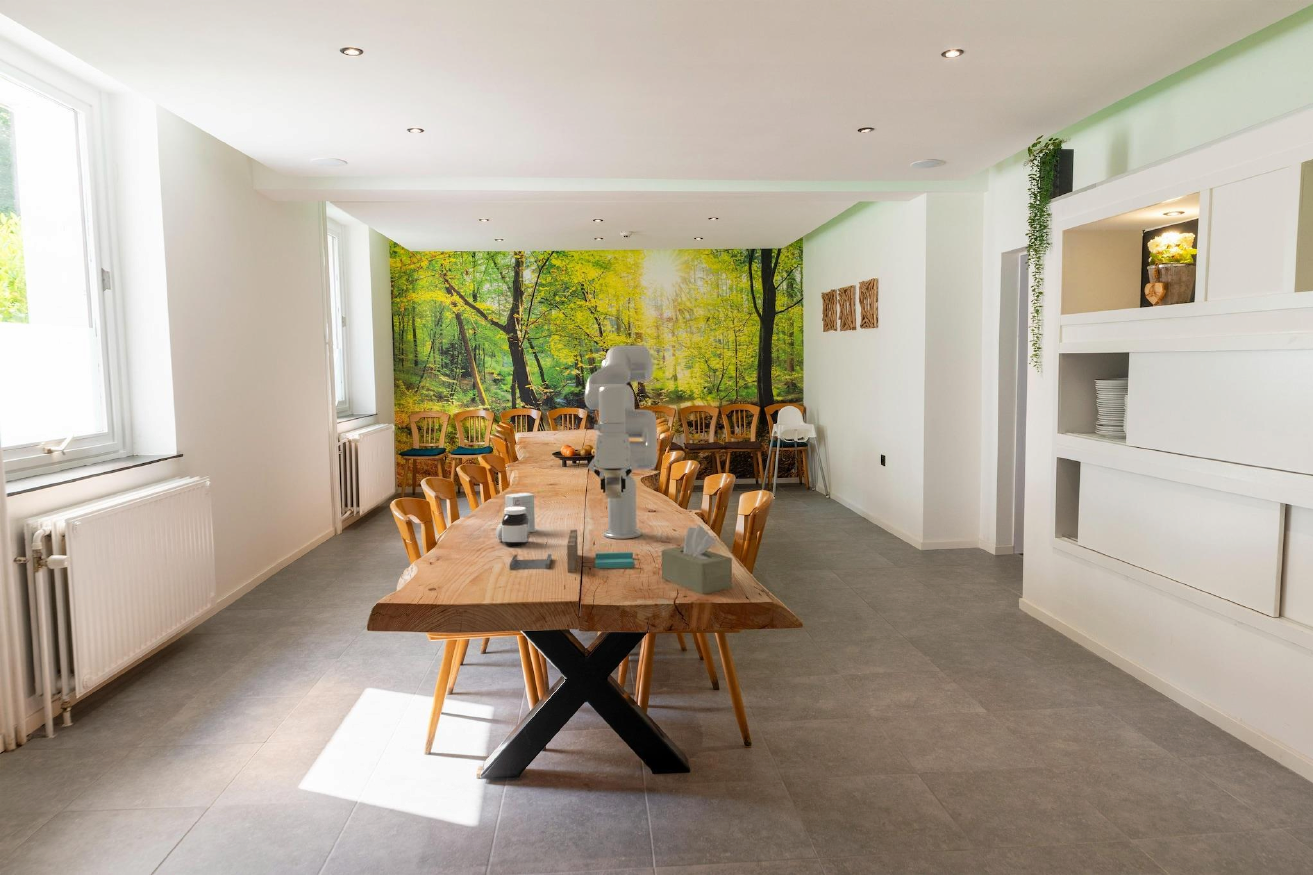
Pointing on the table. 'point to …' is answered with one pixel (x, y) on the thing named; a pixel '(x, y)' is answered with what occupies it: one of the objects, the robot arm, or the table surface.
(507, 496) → the small box
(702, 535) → the tissue box
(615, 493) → the block
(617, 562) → the teal square tray
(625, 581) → the table surface
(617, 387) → the robot arm
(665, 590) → the table surface
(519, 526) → the spread jar
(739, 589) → the table surface
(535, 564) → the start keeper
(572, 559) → the door panel
